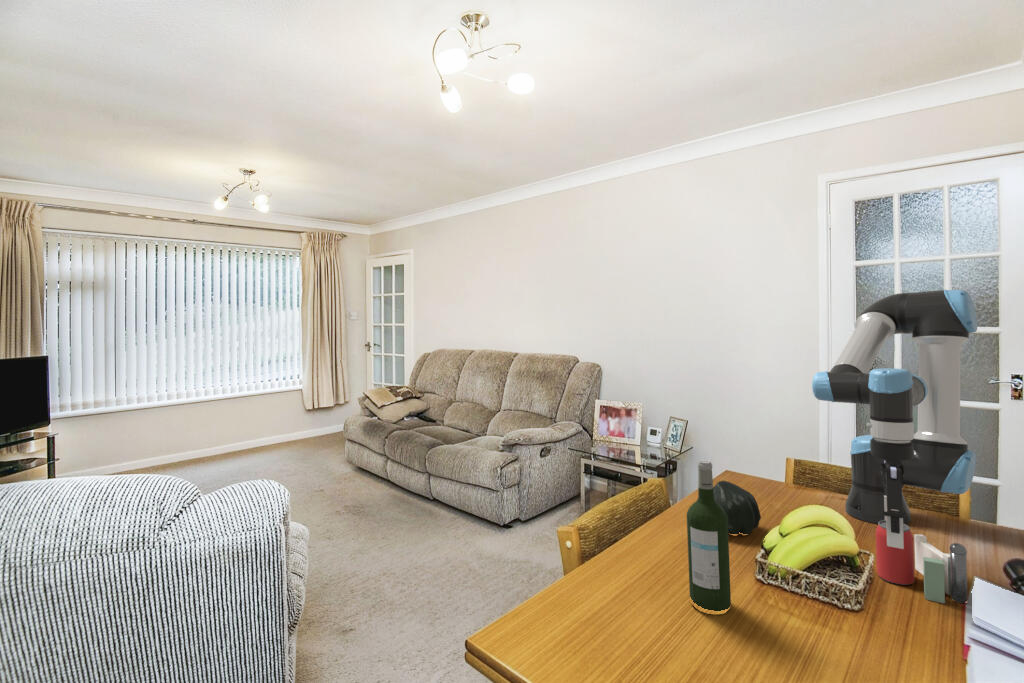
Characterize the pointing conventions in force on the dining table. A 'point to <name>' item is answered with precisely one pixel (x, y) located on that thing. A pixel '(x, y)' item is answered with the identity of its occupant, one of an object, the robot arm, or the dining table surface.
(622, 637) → the dining table surface
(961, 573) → the hinge post
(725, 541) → the wine bottle
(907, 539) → the beer can
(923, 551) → the gate
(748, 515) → the squash
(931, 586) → the block
